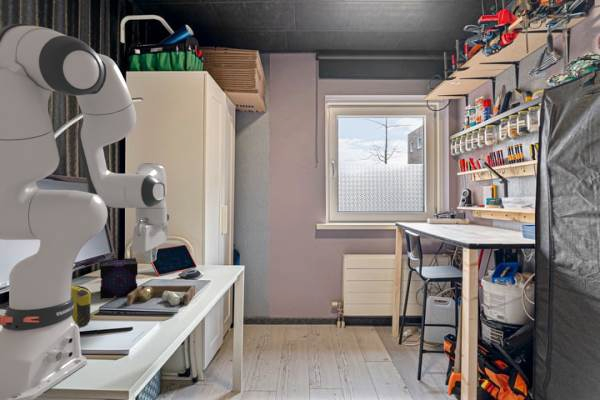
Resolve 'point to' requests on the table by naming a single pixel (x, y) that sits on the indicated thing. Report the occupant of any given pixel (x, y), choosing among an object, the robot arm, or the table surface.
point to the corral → (160, 290)
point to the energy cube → (118, 277)
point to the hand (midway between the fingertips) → (150, 262)
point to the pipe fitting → (174, 297)
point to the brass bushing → (145, 294)
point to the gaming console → (81, 305)
